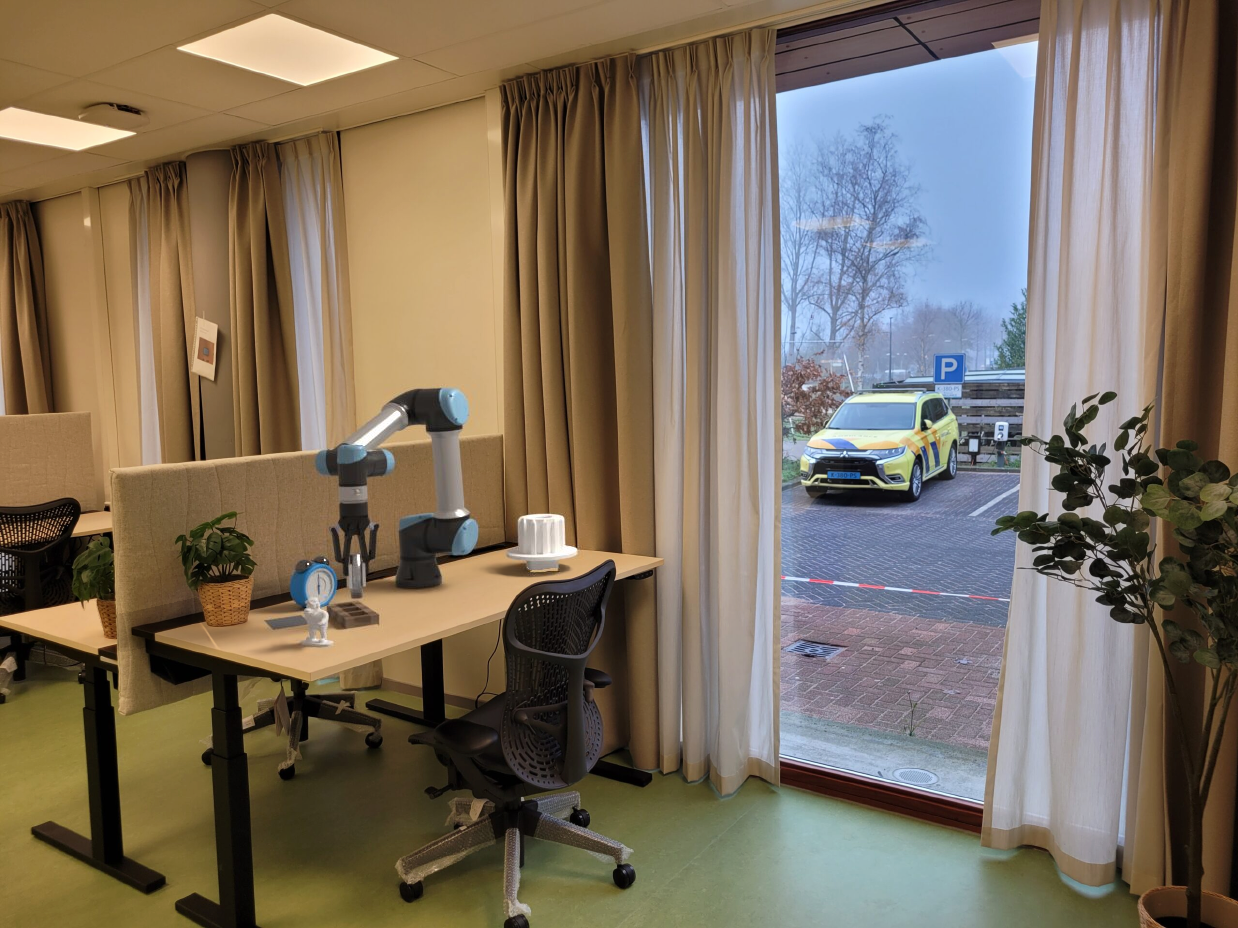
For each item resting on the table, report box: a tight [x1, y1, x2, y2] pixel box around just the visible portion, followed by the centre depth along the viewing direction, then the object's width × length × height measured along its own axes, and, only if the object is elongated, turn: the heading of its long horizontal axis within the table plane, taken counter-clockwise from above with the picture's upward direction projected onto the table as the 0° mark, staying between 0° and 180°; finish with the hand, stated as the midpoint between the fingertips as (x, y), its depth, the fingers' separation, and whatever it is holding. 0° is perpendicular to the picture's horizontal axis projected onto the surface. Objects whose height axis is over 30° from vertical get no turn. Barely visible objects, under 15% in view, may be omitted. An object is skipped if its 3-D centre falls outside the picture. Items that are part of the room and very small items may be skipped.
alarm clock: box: [289, 555, 338, 608], centre depth 270 cm, size 13×6×15 cm, turn 150°
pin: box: [349, 552, 363, 600], centre depth 248 cm, size 3×3×12 cm
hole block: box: [325, 600, 380, 630], centre depth 254 cm, size 20×9×3 cm, turn 32°
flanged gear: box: [505, 513, 578, 571], centre depth 320 cm, size 25×25×19 cm
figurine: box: [300, 597, 334, 648], centre depth 230 cm, size 9×7×12 cm
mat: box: [264, 614, 309, 631], centre depth 252 cm, size 12×10×1 cm
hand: (356, 586), depth 248 cm, fingers closed on pin, 3 cm apart
